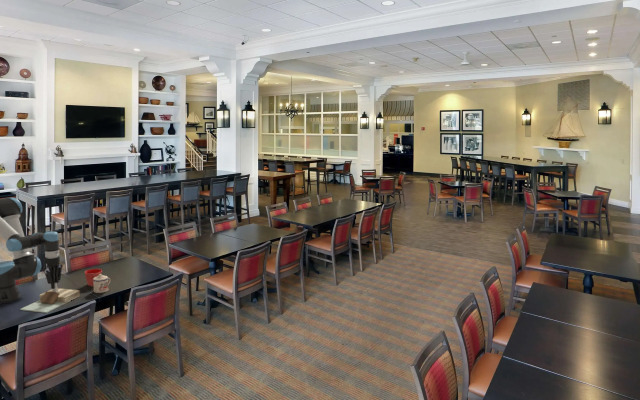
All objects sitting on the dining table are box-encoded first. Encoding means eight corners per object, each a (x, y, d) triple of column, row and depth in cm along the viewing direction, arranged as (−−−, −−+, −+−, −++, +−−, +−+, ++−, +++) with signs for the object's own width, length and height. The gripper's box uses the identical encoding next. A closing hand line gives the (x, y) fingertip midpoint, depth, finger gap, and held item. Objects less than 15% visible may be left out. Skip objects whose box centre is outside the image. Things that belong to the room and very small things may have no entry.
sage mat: (20, 309, 243) (20, 309, 243) (40, 300, 256) (39, 299, 256) (47, 313, 240) (46, 312, 240) (65, 303, 253) (65, 302, 253)
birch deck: (40, 300, 256) (39, 294, 256) (55, 293, 268) (54, 287, 267) (65, 303, 253) (65, 297, 253) (79, 296, 265) (79, 290, 265)
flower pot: (100, 280, 294) (99, 267, 293) (104, 285, 286) (103, 271, 284) (83, 283, 287) (83, 270, 286) (87, 288, 279) (86, 274, 278)
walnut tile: (42, 303, 252) (40, 301, 250) (48, 292, 256) (46, 291, 254) (53, 304, 250) (51, 302, 249) (59, 293, 255) (57, 292, 253)
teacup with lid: (100, 294, 270) (99, 277, 268) (90, 292, 273) (89, 275, 271) (115, 288, 281) (114, 272, 279) (105, 286, 284) (104, 270, 282)
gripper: (49, 260, 246) (52, 297, 249) (65, 254, 259) (68, 289, 262) (38, 259, 247) (41, 296, 251) (55, 253, 260) (57, 288, 263)
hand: (55, 292), depth 256 cm, fingers closed
